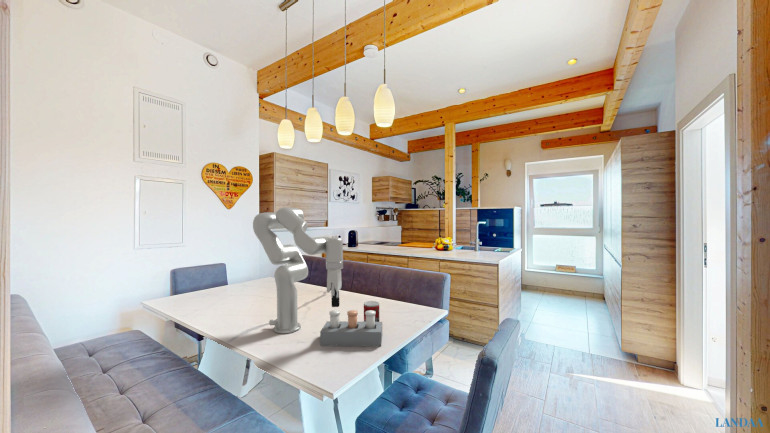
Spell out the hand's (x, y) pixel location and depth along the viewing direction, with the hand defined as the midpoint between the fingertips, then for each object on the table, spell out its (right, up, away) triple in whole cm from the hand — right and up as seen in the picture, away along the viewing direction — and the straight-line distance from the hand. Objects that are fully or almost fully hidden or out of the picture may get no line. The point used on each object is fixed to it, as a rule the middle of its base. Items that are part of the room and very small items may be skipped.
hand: (335, 306), depth 130 cm
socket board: (+8, -15, 0) cm, 17 cm away
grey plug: (+16, -10, 0) cm, 19 cm away
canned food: (+15, -15, +18) cm, 28 cm away
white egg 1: (0, -11, 0) cm, 11 cm away
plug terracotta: (+8, -11, 0) cm, 13 cm away
